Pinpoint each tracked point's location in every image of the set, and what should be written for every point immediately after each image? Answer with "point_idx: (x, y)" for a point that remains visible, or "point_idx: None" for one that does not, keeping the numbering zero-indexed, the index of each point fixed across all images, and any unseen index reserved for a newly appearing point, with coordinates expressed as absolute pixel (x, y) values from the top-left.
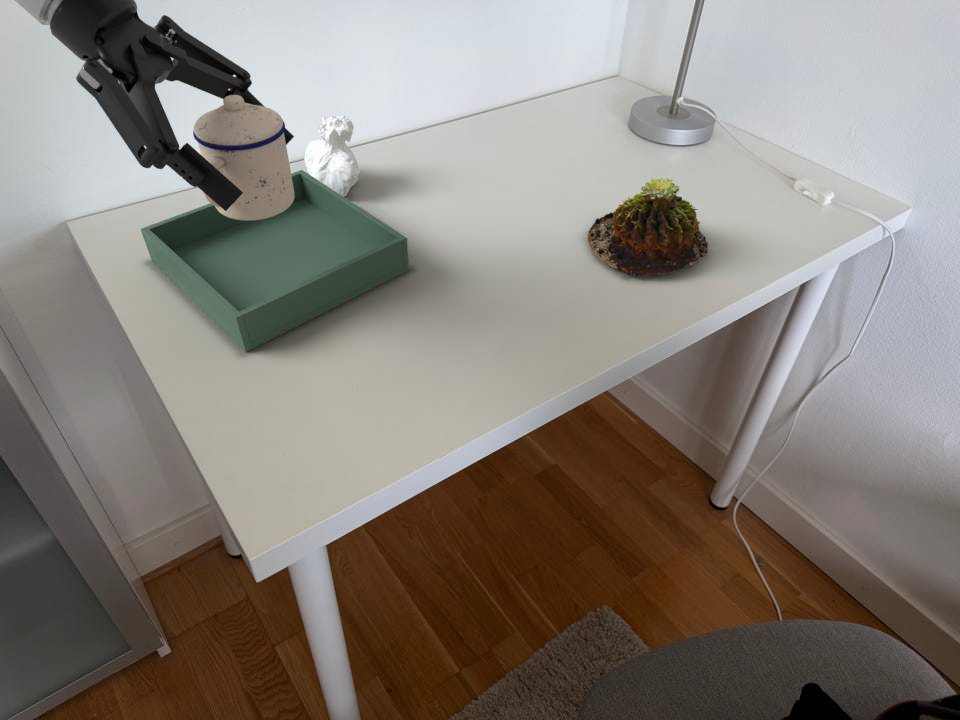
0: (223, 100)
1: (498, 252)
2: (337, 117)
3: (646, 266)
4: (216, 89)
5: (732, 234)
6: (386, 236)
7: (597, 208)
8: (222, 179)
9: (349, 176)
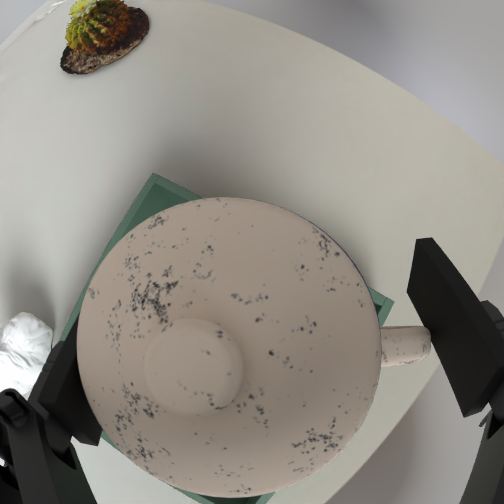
0: (214, 412)
1: (121, 124)
2: None
3: (139, 25)
4: (81, 495)
5: None
6: (144, 209)
7: (52, 87)
8: (451, 269)
9: (32, 319)
